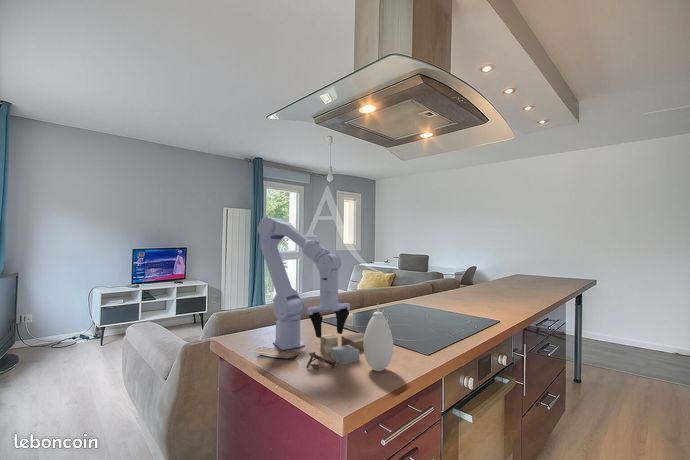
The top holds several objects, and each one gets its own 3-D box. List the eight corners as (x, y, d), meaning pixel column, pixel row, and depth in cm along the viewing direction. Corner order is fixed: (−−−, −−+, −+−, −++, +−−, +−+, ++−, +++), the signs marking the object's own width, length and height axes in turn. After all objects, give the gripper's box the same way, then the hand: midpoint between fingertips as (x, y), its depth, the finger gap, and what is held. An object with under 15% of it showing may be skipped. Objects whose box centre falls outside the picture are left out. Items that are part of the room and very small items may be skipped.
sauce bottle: (378, 362, 90) (377, 299, 91) (399, 370, 84) (398, 303, 85) (358, 369, 85) (357, 302, 86) (378, 378, 79) (378, 306, 80)
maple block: (320, 351, 99) (320, 335, 99) (331, 349, 101) (331, 333, 102) (326, 355, 96) (326, 339, 96) (337, 353, 98) (337, 337, 98)
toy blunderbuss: (303, 364, 86) (310, 349, 87) (329, 375, 87) (336, 359, 88) (303, 367, 84) (310, 351, 85) (330, 378, 85) (337, 362, 86)
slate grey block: (331, 358, 93) (331, 348, 93) (348, 354, 96) (348, 344, 97) (341, 364, 88) (341, 354, 88) (359, 360, 91) (359, 350, 91)
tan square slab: (341, 345, 106) (341, 336, 106) (360, 341, 110) (360, 332, 110) (354, 351, 99) (354, 342, 99) (374, 347, 103) (374, 338, 103)
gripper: (314, 295, 92) (314, 342, 92) (355, 291, 100) (355, 334, 99) (304, 292, 98) (304, 336, 97) (343, 288, 106) (343, 329, 105)
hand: (329, 335), depth 99 cm, fingers open, 7 cm apart
